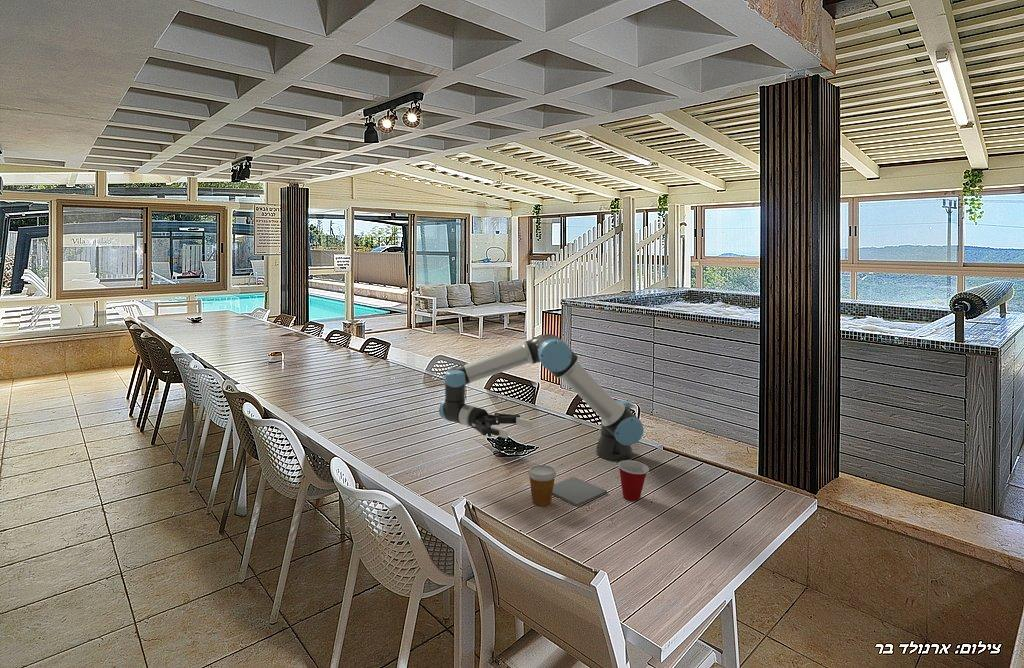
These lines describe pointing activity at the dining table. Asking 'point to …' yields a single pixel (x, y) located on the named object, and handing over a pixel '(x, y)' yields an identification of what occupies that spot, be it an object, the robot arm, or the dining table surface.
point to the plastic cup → (632, 478)
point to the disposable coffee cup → (542, 484)
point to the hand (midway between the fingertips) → (519, 429)
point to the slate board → (577, 491)
